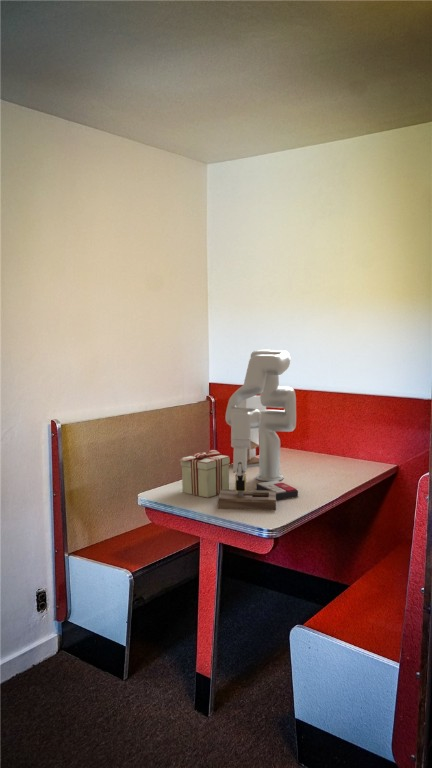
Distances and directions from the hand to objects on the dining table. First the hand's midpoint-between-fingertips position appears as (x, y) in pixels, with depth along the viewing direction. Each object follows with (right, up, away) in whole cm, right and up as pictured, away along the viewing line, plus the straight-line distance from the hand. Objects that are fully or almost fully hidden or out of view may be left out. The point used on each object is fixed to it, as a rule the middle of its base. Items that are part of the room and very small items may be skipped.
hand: (240, 488), depth 241 cm
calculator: (+16, -6, +15) cm, 23 cm away
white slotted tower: (+8, 0, +70) cm, 70 cm away
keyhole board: (+3, -6, 0) cm, 7 cm away
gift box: (-16, -5, +19) cm, 25 cm away
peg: (0, -6, +1) cm, 6 cm away
